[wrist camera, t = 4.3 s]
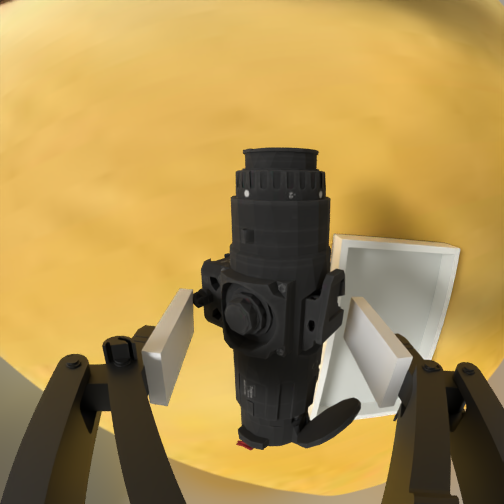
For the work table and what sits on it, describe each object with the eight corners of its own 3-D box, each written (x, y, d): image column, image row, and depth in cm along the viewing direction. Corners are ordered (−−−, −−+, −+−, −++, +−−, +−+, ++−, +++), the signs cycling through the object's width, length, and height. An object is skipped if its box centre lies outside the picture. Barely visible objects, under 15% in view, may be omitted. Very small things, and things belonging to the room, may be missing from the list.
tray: (333, 233, 29) (342, 239, 26) (445, 242, 29) (460, 248, 26) (305, 407, 34) (308, 422, 31) (402, 398, 34) (410, 411, 31)
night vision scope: (263, 157, 20) (413, 160, 13) (262, 376, 24) (368, 419, 18) (165, 154, 14) (372, 140, 8) (194, 425, 18) (314, 496, 12)
